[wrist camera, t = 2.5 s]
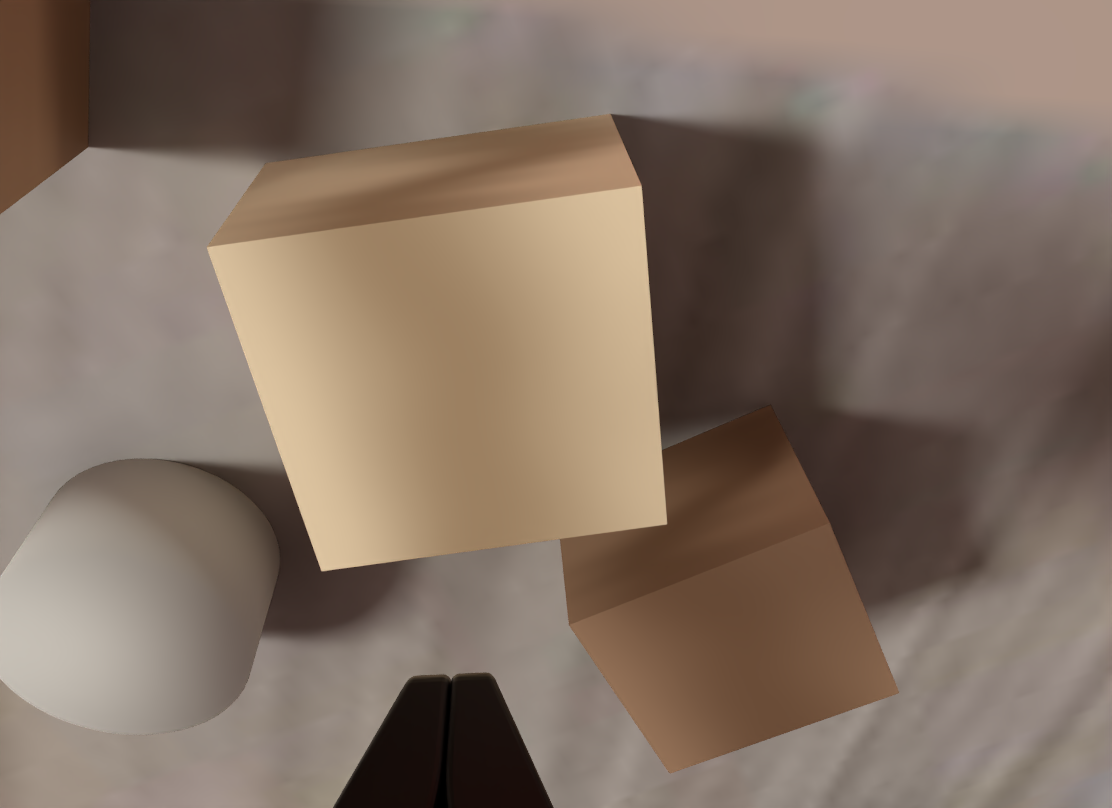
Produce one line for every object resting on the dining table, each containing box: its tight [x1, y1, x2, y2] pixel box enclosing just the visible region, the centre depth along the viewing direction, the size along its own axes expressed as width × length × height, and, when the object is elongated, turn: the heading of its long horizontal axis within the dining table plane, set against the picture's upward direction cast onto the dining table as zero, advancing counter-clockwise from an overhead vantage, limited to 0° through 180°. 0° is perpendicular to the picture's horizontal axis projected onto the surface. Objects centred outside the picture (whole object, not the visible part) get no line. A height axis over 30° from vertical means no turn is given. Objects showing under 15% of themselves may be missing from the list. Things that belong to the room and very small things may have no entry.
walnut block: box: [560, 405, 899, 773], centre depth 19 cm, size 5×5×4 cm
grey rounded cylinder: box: [0, 459, 280, 735], centre depth 19 cm, size 5×5×3 cm
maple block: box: [207, 114, 667, 571], centre depth 16 cm, size 6×6×4 cm
